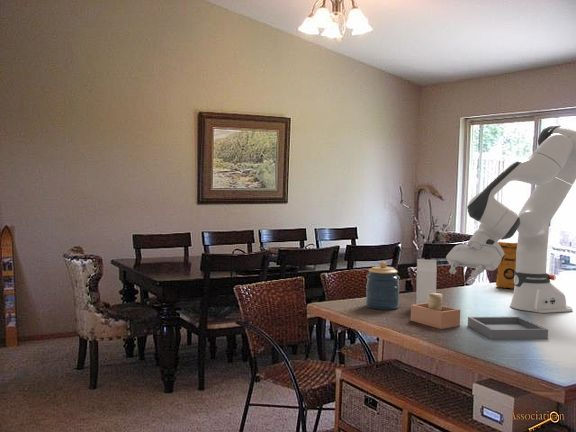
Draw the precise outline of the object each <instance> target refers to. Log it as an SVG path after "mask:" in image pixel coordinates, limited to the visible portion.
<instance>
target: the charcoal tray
mask: <svg viewBox="0 0 576 432" xmlns="http://www.w3.org/2000/svg"><path fill="white" fill-rule="evenodd" d="M467 327H469V328H471V329H473V330H474V331H475V332H478V333H480V334H481V335H483V336H485V337H487V338H489V340H492V341H494V340H501V341H502V340H548V339H549V329H548V328H545V327H543V326H541V325H539V324H537V323H534V322H532V321H530V320H528V319H525V318H523V317H521V316H468V317H467Z"/></svg>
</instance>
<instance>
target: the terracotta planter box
mask: <svg viewBox="0 0 576 432" xmlns="http://www.w3.org/2000/svg"><path fill="white" fill-rule="evenodd" d="M428 304H429V303H421V304H416V303H415V304H410V321H411V322H413V323H414V322H415V323H419V324H422V325H426V326H429V327H433V328H436V329H439V330H440V329H441V330H443V329H450V328H455V327H460V326H461V309H459V308H455V307H450V306H447V305H442V312H441V311H437V310H433V309H429V308H428Z"/></svg>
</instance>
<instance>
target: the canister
mask: <svg viewBox="0 0 576 432" xmlns="http://www.w3.org/2000/svg"><path fill="white" fill-rule="evenodd" d="M397 273H399V271H398V270H397V269H396V268H395V267H393V266H387V263H386V262H385V261H381V262H380V263H379V266H378V265H377V266H372V267H371V268H369V269H368V274H367V275H366V276H365V277H366V279H367V281H366V284H365V286H366V287H365V289H366V293H365V295H366V296H365V304H366V305H365V306H366V307H367V308H370V309H374V310H389V311H390V310H396V309H398V308H399V306H400V284H399V280H400V279H401V277H400V276H399V275H398V274H397Z"/></svg>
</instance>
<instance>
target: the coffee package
mask: <svg viewBox="0 0 576 432" xmlns="http://www.w3.org/2000/svg"><path fill="white" fill-rule="evenodd" d="M498 243H499V245H500V246H501V248H502V249H503V251H504V253H505V254H504V256H503V257H501V258H502V260H501V262H500V264H499V266H498V267H497V275H496V281H495V286H496V287H497V288H501V289H506V288H510V289H509V290H514V287H515V285H514V272H515V271H516V250H517V243H518V242H503V241H498Z"/></svg>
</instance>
